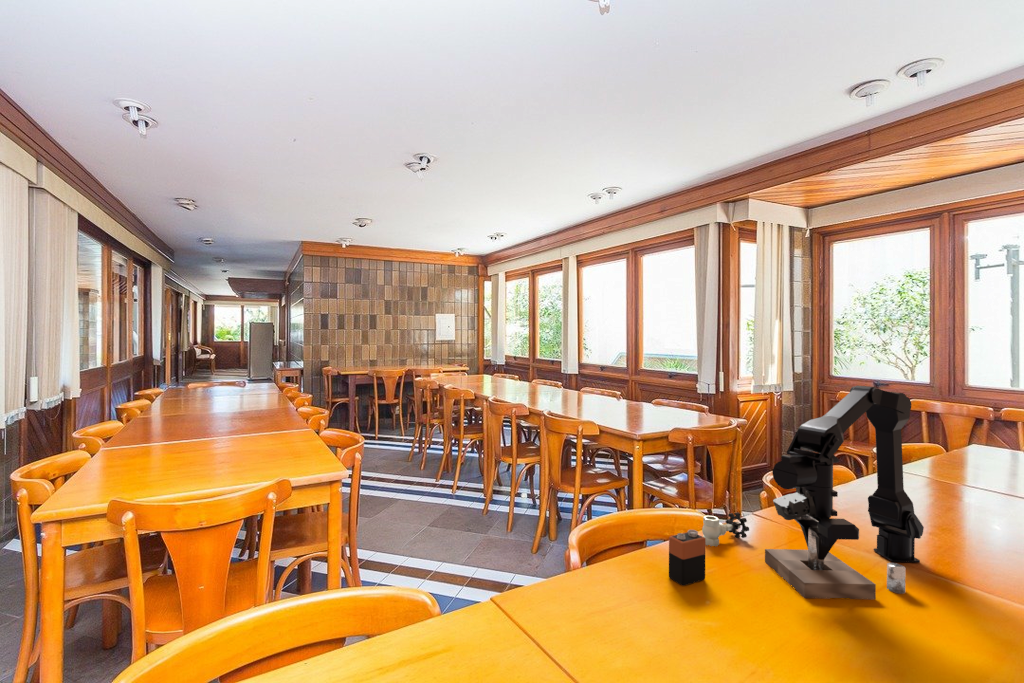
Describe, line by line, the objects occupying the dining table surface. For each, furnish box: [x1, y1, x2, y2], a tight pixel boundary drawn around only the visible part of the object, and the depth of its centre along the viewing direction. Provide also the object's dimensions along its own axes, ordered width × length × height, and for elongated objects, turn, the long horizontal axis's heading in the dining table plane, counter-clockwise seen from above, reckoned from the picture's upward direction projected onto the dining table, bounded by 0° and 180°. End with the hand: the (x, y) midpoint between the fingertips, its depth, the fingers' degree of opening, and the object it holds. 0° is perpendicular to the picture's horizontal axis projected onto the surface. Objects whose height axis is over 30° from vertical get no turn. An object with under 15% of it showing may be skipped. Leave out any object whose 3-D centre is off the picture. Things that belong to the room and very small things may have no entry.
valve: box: [701, 511, 750, 547], centre depth 126 cm, size 7×7×12 cm
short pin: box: [886, 562, 906, 595], centre depth 102 cm, size 3×3×5 cm
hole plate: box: [764, 548, 877, 600], centre depth 106 cm, size 14×16×3 cm
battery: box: [668, 529, 707, 587], centre depth 106 cm, size 4×7×10 cm, turn 117°
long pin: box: [807, 526, 824, 570], centre depth 106 cm, size 3×3×9 cm
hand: (816, 555), depth 106 cm, fingers closed on long pin, 3 cm apart
